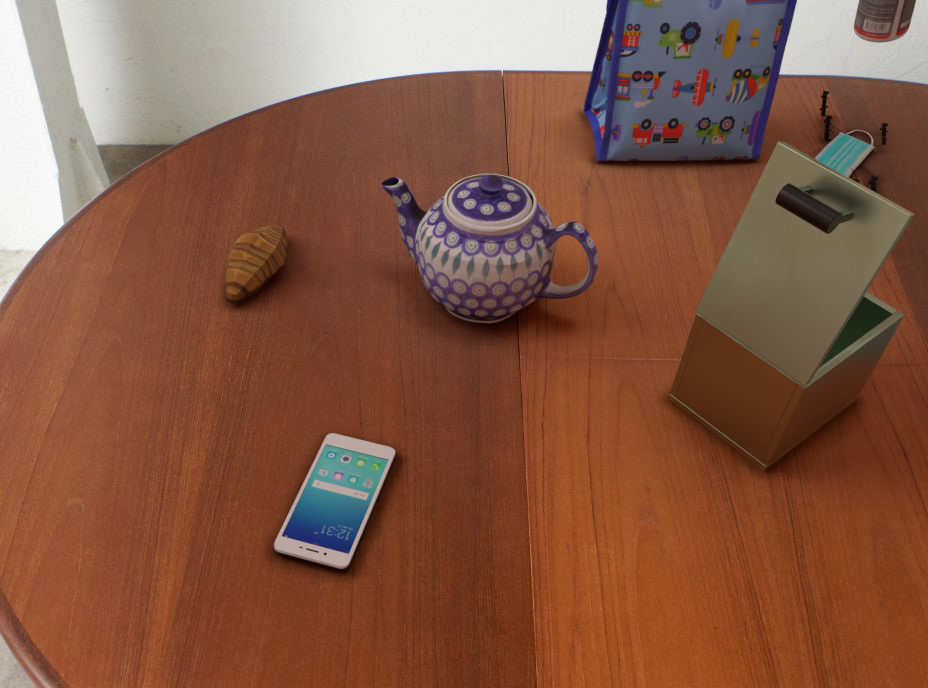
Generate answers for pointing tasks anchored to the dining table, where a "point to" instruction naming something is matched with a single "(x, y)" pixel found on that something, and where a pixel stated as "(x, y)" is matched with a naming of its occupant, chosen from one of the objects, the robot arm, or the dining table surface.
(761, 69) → the lunch bag
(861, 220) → the bin lid
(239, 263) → the croissant
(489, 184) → the teapot
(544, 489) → the dining table surface
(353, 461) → the smartphone
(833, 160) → the surgical mask
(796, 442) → the waste bin
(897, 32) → the pill bottle
